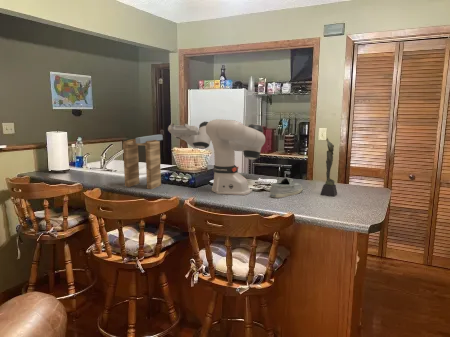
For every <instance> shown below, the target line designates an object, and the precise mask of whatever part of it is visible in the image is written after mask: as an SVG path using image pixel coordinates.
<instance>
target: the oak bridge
mask: <svg viewBox="0 0 450 337" xmlns="http://www.w3.org/2000/svg"><path fill="white" fill-rule="evenodd" d="M160 143H161V140H158V141H157V140H152V141H146V143H141V144H140V143H136V138H133V139H127V140H125V141H122V153H123V169H124V172H123V173H124V187H125V186H127V187H128V188H130V187H133V186H136V185H139V184H140V167H139V166H140V164H139V163H140V162H139V146H145V171H146V189H148V190H153V189H156V188H158V187H161V186H162V180H161V178H162V175H161V172H162V171H161V144H160Z"/></svg>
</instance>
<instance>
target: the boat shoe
mask: <svg viewBox="0 0 450 337" xmlns="http://www.w3.org/2000/svg"><path fill="white" fill-rule="evenodd" d="M302 191H303V185H302V184H301V183H299V182H294V180H293V178H290V177H284V178H282V180H281V181H280V182H273V183H271V187H270V189H269V196H270V197H271V198H278V199H280V198H286V197H289V196H294V195H298V194H301V193H302Z"/></svg>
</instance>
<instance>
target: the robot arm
mask: <svg viewBox="0 0 450 337" xmlns="http://www.w3.org/2000/svg"><path fill="white" fill-rule="evenodd" d="M167 131H168V132H169V133H170V134H171V135H172V136H173V137H174V138H175V139H178V140H183V141H185V142H186V144H188V146H190V147H191V148H194V149H199V150H205V149H208V148H209V147H210V146H211V144H212V147H213V154H214V156H213V157H214V165H213V183H212V186H211V187H212V188H211V191H212V192H214V193H215V194H217V195H237V196H245V195H249V194H251V193H252V192H253V188H252V189H250V188H251V187H249V182H248V180H247V178H245V177H244V175H243V174H241V173H240V172H239V166H237V165H236V164H235V161H236V159H235V156H236V154H235V153H236V152H243V153H242V154H243V156H244V158H246V159H248V160H251V161H252V160H254V161H255V160H257V159H259V158H260V156H261V151H262V148H263V146H264V145H265V143H266V136H265V134H264V126H262V125H261V124H257V123H252V124H249V125H244V124H243V123H242V122H240V121H238V120H233V119H223V118H222V119H220V118H219V119H218V118H216V119H212V120H210V121H202V122H201V123H200V124H199V125H198V127H197V126H196V125H189V124H187V123H183V125H178V124H177V125H175V124H174V123H173V122H172V123H170V125H168V127H167Z"/></svg>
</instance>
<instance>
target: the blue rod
mask: <svg viewBox="0 0 450 337" xmlns="http://www.w3.org/2000/svg"><path fill="white" fill-rule="evenodd" d="M163 137H164V136H163V134H153V135H145V136H140V137H135V139H136V143H140V144H141V143H146V141H152V140H157V141H163V140H164V138H163Z"/></svg>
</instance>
